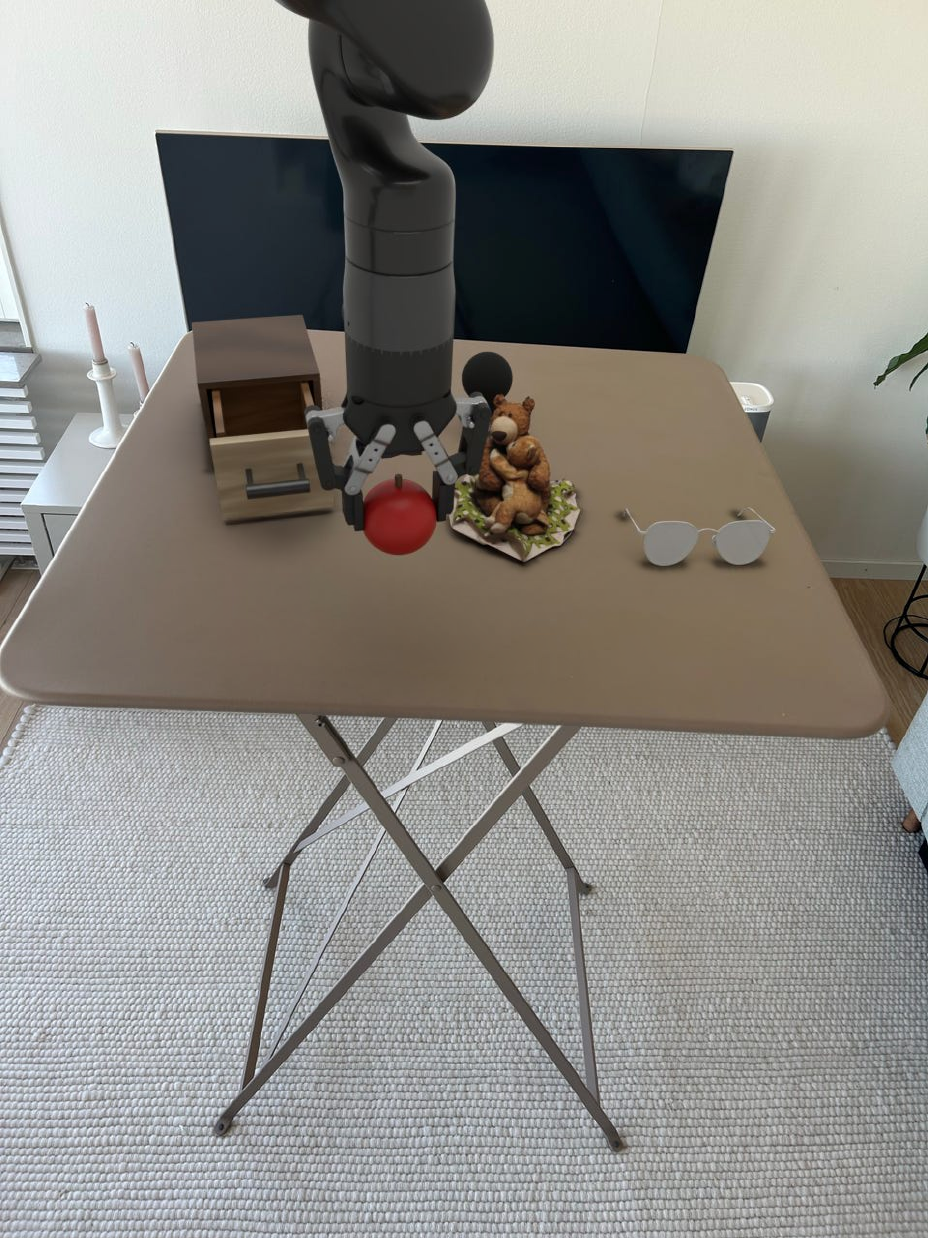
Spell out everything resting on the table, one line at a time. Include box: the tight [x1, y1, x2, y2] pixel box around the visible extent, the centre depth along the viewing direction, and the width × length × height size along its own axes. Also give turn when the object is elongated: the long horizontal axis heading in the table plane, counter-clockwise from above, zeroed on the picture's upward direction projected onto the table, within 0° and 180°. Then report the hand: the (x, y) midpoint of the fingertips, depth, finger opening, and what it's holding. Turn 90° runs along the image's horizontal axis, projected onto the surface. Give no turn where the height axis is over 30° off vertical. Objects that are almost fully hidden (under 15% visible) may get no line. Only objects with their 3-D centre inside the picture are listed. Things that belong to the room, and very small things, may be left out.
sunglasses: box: [622, 506, 776, 567], centre depth 91 cm, size 14×8×5 cm, turn 94°
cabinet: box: [191, 314, 323, 471], centre depth 101 cm, size 15×13×11 cm
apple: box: [362, 473, 437, 556], centre depth 71 cm, size 6×6×7 cm
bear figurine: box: [448, 394, 581, 563], centre depth 90 cm, size 14×15×12 cm
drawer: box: [210, 381, 336, 520], centre depth 91 cm, size 18×11×9 cm, turn 15°
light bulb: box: [461, 351, 514, 432], centre depth 103 cm, size 6×6×10 cm
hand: (398, 519), depth 72 cm, fingers closed on apple, 6 cm apart
